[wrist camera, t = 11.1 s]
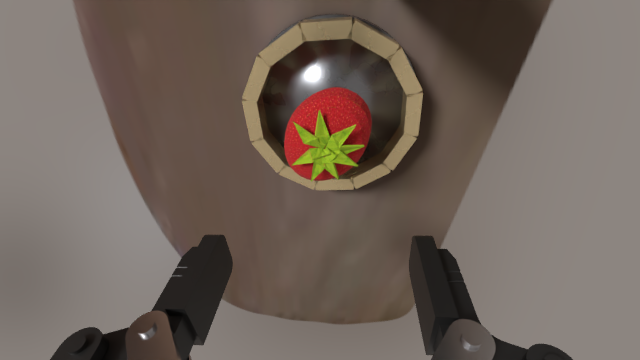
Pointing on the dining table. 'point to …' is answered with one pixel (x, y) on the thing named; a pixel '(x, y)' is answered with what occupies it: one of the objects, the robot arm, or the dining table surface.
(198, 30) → the dining table surface
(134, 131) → the dining table surface
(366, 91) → the tan rimmed round bowl
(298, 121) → the strawberry
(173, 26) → the dining table surface
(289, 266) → the dining table surface
